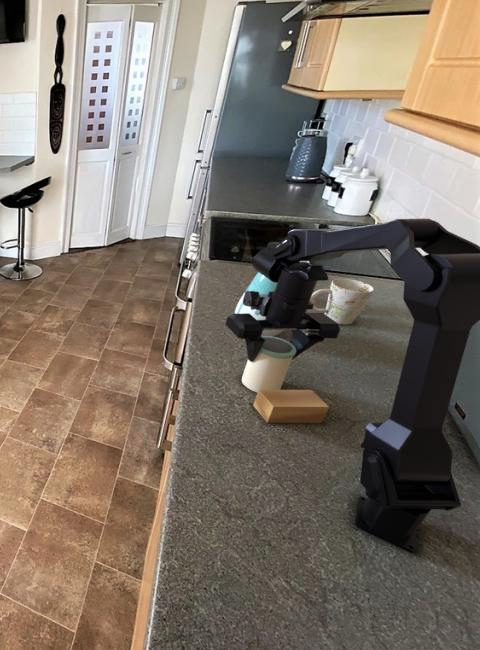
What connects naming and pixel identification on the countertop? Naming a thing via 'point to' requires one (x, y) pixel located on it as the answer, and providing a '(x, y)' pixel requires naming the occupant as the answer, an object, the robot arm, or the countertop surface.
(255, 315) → the vase
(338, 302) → the mug
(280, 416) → the block
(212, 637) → the countertop surface
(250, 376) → the cream cylindrical canister
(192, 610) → the countertop surface
